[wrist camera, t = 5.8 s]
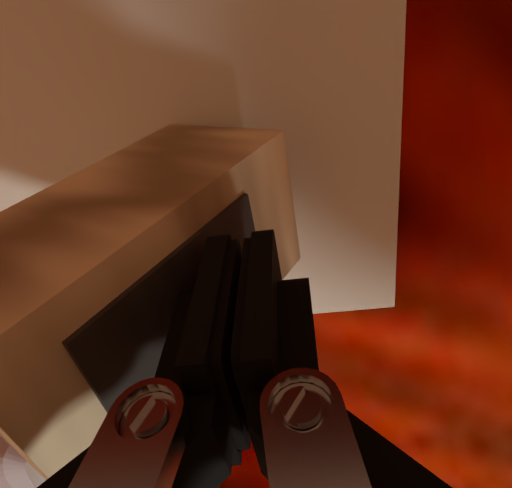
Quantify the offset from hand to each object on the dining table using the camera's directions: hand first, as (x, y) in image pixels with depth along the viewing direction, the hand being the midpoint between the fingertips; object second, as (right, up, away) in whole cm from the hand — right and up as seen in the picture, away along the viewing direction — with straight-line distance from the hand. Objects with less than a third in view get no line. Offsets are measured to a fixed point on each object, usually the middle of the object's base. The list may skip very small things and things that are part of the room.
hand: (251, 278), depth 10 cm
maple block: (-1, +3, +5) cm, 5 cm away
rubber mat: (-6, +3, +7) cm, 10 cm away
